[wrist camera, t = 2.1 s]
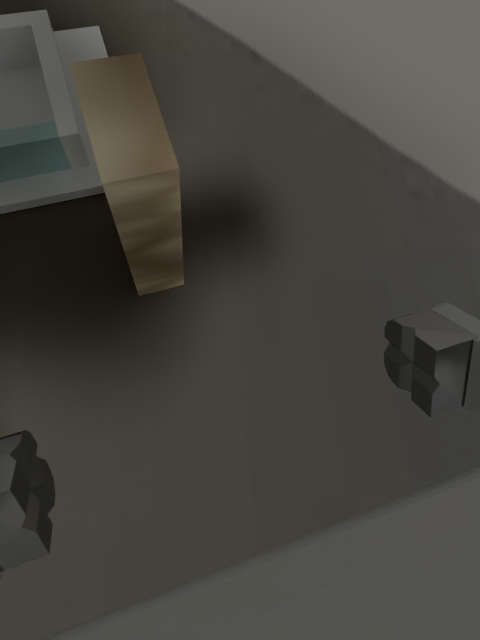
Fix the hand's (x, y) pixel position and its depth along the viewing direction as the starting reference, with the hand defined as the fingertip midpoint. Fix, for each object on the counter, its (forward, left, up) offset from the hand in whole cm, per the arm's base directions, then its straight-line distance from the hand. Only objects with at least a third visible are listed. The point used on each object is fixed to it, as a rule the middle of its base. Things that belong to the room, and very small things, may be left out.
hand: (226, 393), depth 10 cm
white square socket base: (-6, +24, -17) cm, 30 cm away
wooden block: (0, +12, -17) cm, 21 cm away
